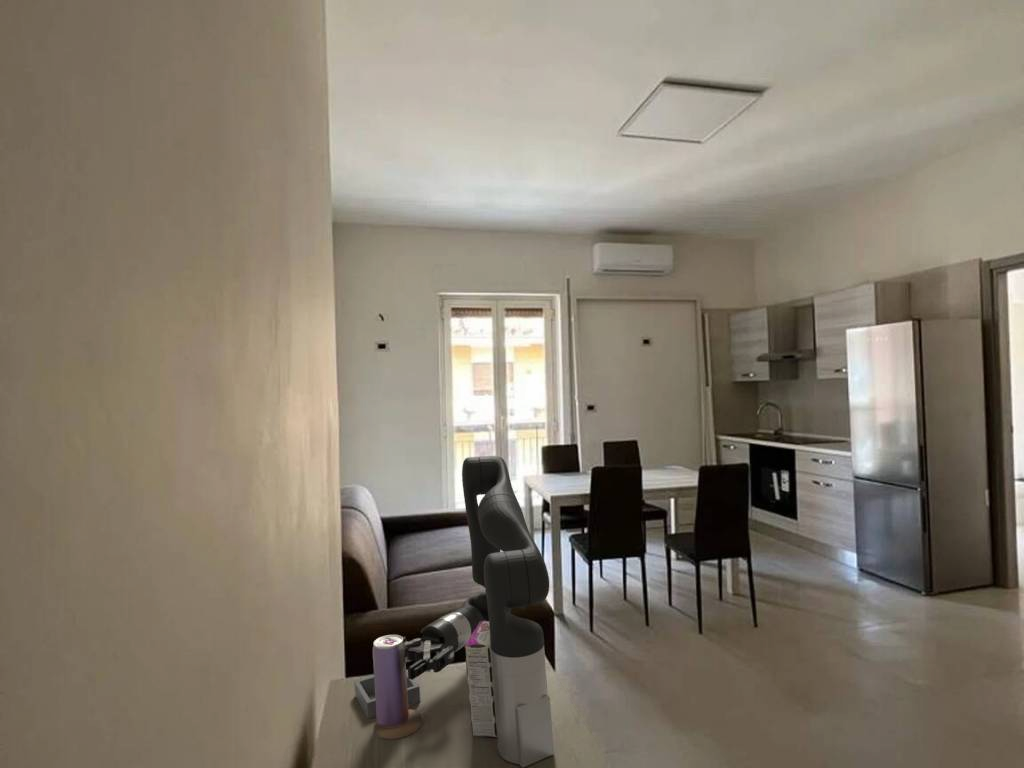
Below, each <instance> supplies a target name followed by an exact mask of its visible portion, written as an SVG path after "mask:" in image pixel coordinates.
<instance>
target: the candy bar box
mask: <svg viewBox="0 0 1024 768" xmlns="http://www.w3.org/2000/svg"><path fill="white" fill-rule="evenodd" d="M464 653H465V666H466V676H467V678H466V679H467V686H468V699H469V708H470V709H469V711H470V723H471V736H473V737H478V738H497V728H496V716H495V702H494V688H493V674H492V659H491V645H490V628H489V621H480V622H479V624H478V625H477V627H476V629H475V630H474V632H473V634H472V635H471V637H470V638H469V640H468V641H467V643H466V644H465V645H464Z"/></svg>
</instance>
